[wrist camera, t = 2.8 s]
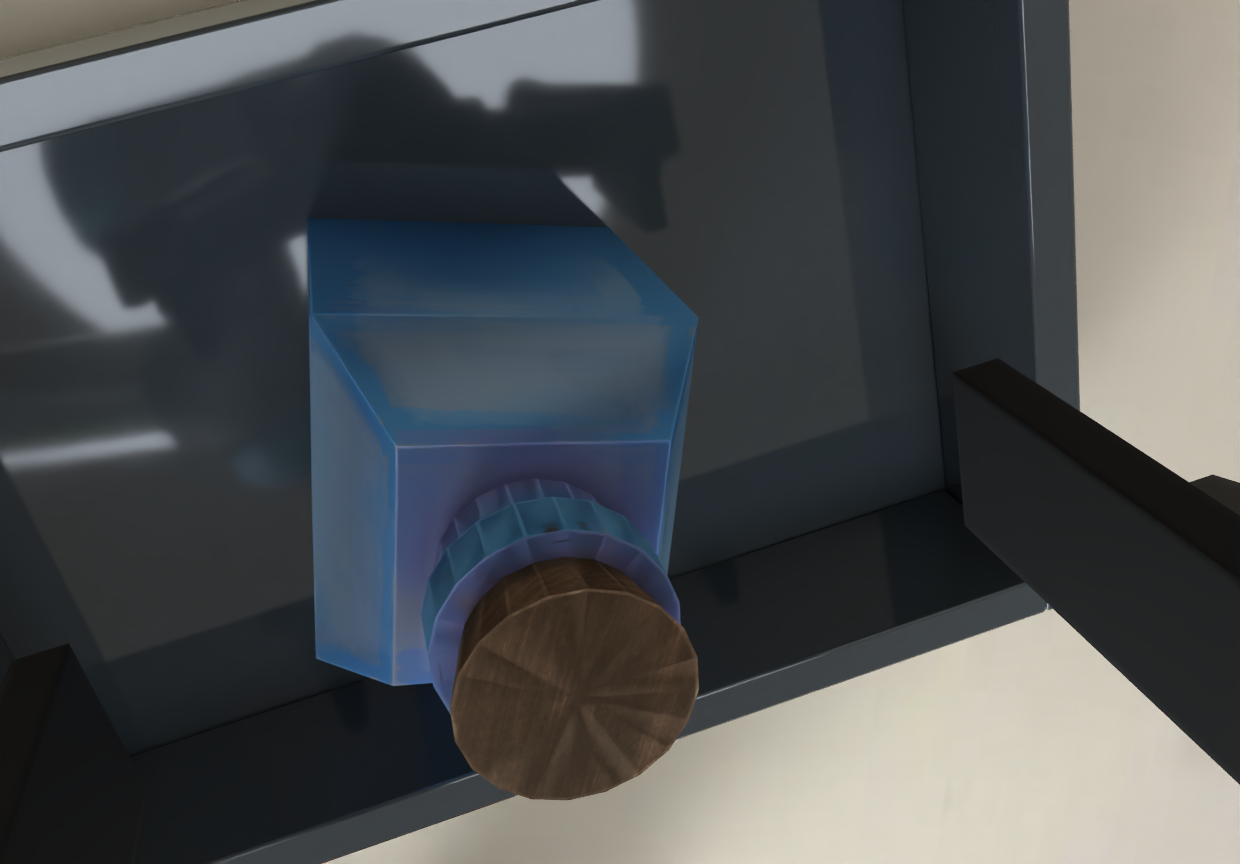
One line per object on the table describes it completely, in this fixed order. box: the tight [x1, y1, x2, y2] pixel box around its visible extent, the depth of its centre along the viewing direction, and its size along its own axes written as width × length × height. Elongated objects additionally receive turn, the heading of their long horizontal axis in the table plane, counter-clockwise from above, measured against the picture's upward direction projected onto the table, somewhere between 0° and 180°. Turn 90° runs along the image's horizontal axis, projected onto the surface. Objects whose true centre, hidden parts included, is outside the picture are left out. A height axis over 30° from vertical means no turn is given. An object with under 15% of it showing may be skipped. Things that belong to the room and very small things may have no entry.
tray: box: [0, 0, 1080, 864], centre depth 23 cm, size 24×16×5 cm, turn 102°
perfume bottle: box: [307, 218, 699, 800], centre depth 20 cm, size 6×6×12 cm
